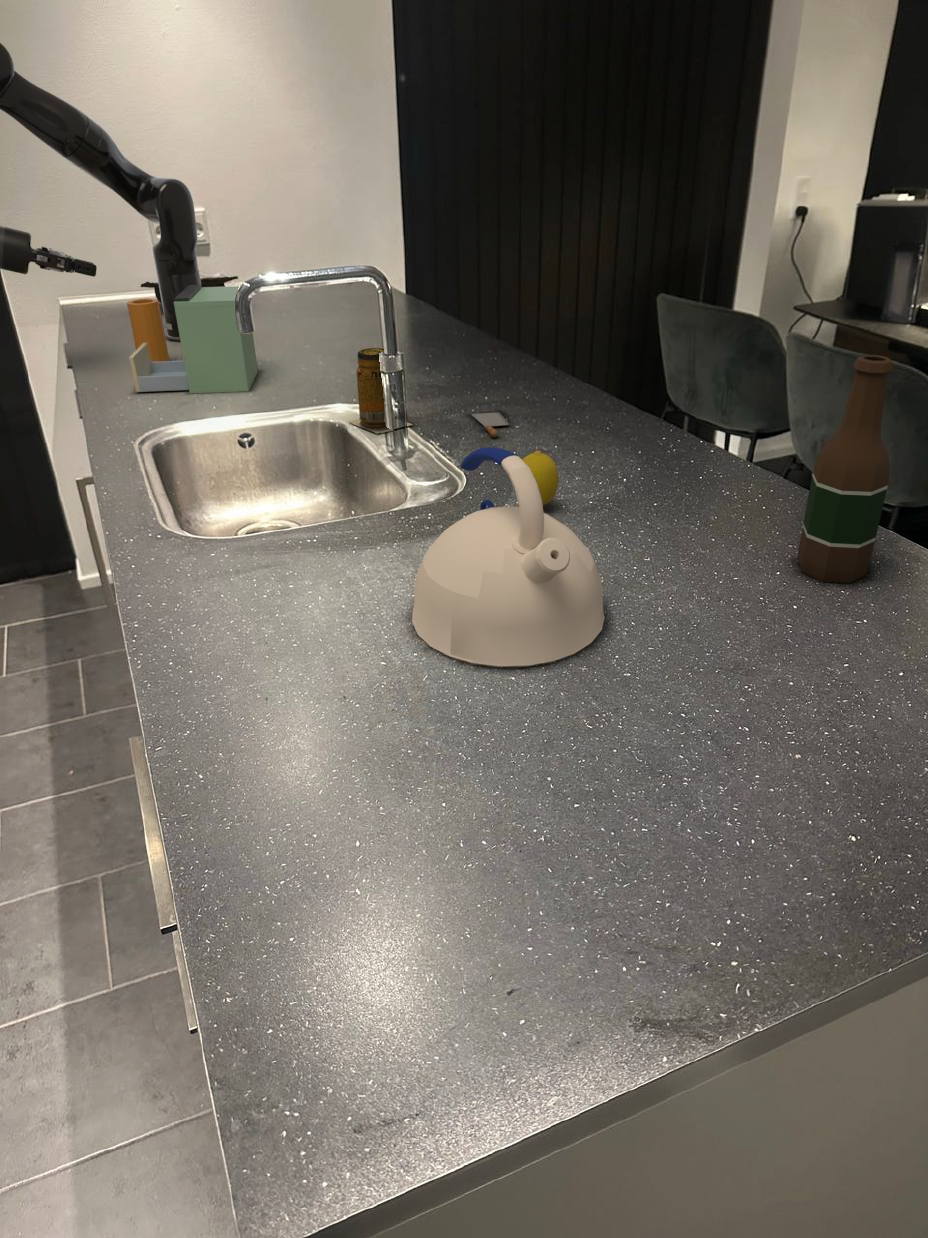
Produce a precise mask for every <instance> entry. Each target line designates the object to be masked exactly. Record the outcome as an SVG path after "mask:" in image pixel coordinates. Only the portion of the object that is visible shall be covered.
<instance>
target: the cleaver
mask: <svg viewBox="0 0 928 1238" xmlns="http://www.w3.org/2000/svg"><path fill="white" fill-rule="evenodd" d="M470 415H471V417H472V418H474V419H475V420H476V421H478V422H479V424H481V425H482V426H483V427H484V429H485V431H487V433H488V434H489V436H490V437H491V438H493V439H495V438H497V437H498V436H499V432H498V430H497V429H495V428H494V427H500V426H501V427H502V426H509V425H510V423H509V422H508V420H506V418H505V417H504V415H502V414H501V413H500V412H499V411H497V412H481V413H471V414H470Z"/></svg>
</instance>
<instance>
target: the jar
mask: <svg viewBox="0 0 928 1238" xmlns="http://www.w3.org/2000/svg"><path fill="white" fill-rule="evenodd" d="M126 305H127V306H126V307H127V311H128V316H129V322H130V326H131V329H132V330H131V331H132V336H133V341H134V346H135V351H136V350H137V349H138V348H139V347H140V346H141V345H142V344H143V343H147V345H148V350H149V355H150V360H151V362H159V361H171V360H170V356H169V350H168V349H169V348H168V345H167V339H166V338H167V337H166V335H165V334H166V333H165V327H164V323H163V322H164V321H163V317H162V312H161V307H160V302H159V301H158V300H157V298H150V297H149V298H147V297H146V298H137V299H131V300H128V301H127V302H126Z"/></svg>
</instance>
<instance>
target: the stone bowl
mask: <svg viewBox="0 0 928 1238" xmlns="http://www.w3.org/2000/svg"><path fill="white" fill-rule="evenodd" d="M238 279H239V275H238V276H236V275H235V276H222V277H221V276H216V277H211V276H210V277H200V280H201V286H202V287H226V283H228V282H232V281H233V280H238ZM140 288H150V289H153V290H154V294H155V299H157V300H158V301H159V304H162V300H161V295H160V289H159V284H158V282H153V281H152V282H150V281H146V282H143V283H141V284H140Z"/></svg>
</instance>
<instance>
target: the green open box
mask: <svg viewBox="0 0 928 1238" xmlns="http://www.w3.org/2000/svg"><path fill="white" fill-rule="evenodd" d="M239 286H240V285H232V286H231V285H230V286H228V285H227V286H225V287H202V286H201V285H188V286H187V287H186V288H185V289H184V290H183V291H182V292H181V293H180V294H179V295H178V296H177V297H176V298H175V302H174V307H175V313H176V318H177V324H178V330H179V335H180V341H179V342H180V346H181V347H180V348H181V353H182V359H183V361H184V364H185V370H186V375H187V381H188V387H189V390H188V392H189V394H214V393H238V392H243V393H244V392H249V391H250V389H251V387H252V385H253V383H254V381H255V378H256V376H257V375H258V372H259V369H258V362H257V355H256V353H257V352H256V347H255V340H254V332H253V333H250V334H242V333H240V332H239V331H238V329H237V326H236V316H235V297H236V292H237V290H238V288H239Z"/></svg>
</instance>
